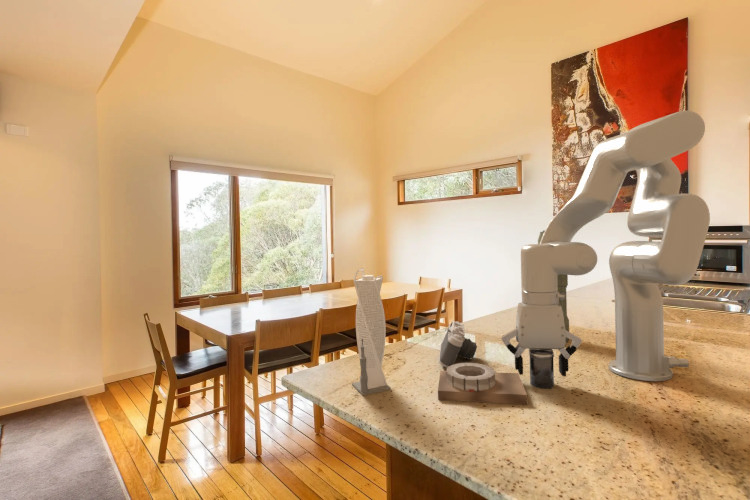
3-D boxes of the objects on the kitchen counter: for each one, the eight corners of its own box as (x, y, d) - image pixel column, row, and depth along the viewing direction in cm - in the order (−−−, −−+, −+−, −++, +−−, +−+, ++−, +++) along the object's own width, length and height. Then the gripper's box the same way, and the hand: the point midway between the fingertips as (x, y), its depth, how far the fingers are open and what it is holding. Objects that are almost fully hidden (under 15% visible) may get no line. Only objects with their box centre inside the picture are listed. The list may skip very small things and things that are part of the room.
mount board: (518, 381, 88) (517, 363, 88) (527, 404, 77) (526, 383, 76) (440, 378, 92) (440, 360, 92) (438, 399, 81) (437, 379, 80)
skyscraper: (350, 382, 92) (344, 269, 91) (380, 376, 95) (375, 266, 94) (362, 395, 84) (356, 271, 83) (394, 388, 88) (389, 268, 87)
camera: (435, 364, 99) (450, 329, 97) (438, 344, 114) (451, 313, 113) (469, 379, 97) (485, 344, 96) (467, 357, 113) (480, 326, 111)
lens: (551, 380, 88) (550, 346, 88) (557, 389, 83) (556, 353, 83) (527, 379, 89) (527, 346, 89) (532, 388, 84) (531, 353, 84)
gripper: (576, 295, 87) (577, 369, 88) (497, 295, 91) (499, 366, 92) (586, 301, 80) (588, 381, 81) (501, 301, 84) (503, 378, 84)
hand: (541, 373), depth 86 cm, fingers open, 8 cm apart
